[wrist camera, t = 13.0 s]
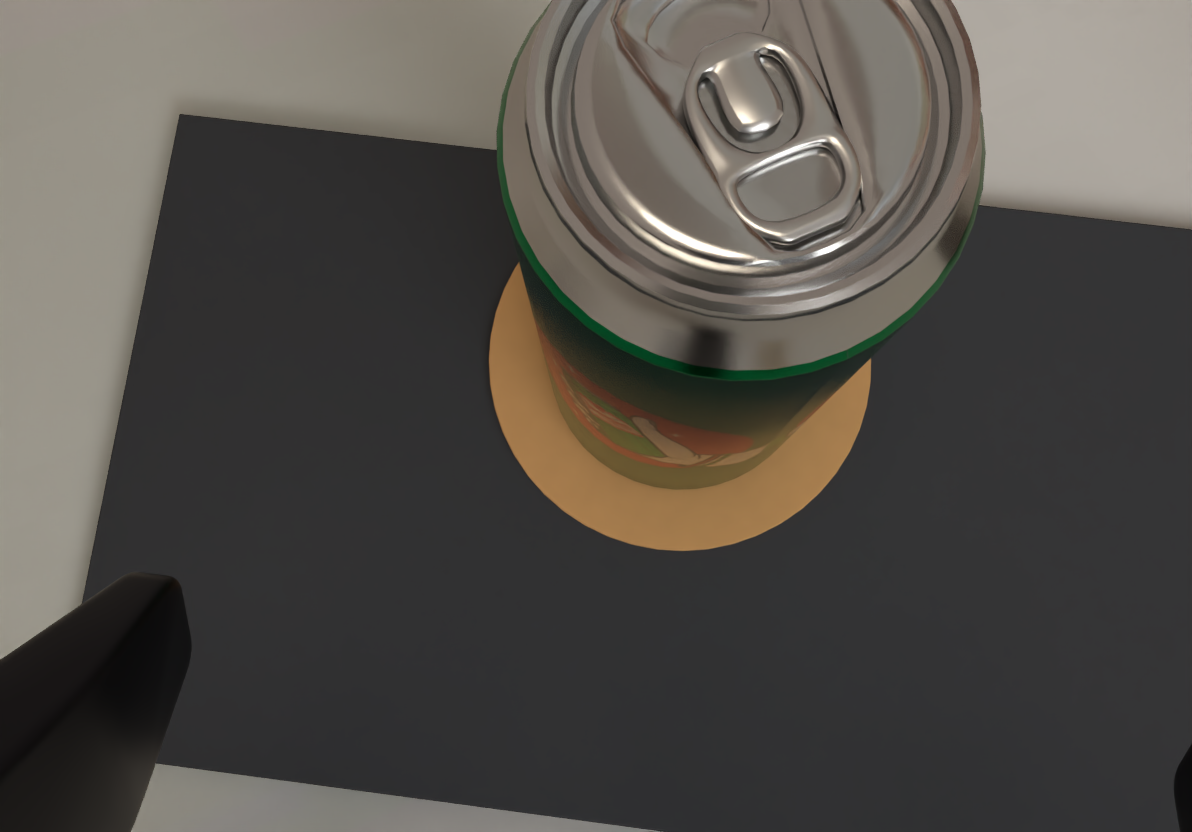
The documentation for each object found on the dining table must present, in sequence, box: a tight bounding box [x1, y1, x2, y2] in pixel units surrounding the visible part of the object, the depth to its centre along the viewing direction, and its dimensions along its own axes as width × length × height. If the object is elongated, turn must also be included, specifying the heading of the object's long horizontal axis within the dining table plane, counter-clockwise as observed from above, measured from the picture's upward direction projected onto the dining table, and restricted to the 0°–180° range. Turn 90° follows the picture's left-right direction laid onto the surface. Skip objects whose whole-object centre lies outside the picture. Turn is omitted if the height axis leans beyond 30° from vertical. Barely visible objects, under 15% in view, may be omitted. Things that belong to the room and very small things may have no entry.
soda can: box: [497, 0, 986, 490], centre depth 17 cm, size 5×5×12 cm
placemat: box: [82, 114, 1192, 832], centre depth 22 cm, size 13×22×1 cm, turn 83°
